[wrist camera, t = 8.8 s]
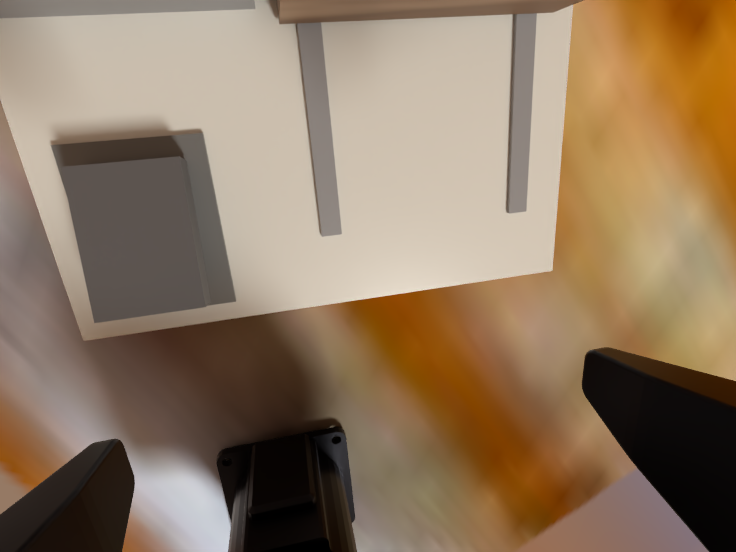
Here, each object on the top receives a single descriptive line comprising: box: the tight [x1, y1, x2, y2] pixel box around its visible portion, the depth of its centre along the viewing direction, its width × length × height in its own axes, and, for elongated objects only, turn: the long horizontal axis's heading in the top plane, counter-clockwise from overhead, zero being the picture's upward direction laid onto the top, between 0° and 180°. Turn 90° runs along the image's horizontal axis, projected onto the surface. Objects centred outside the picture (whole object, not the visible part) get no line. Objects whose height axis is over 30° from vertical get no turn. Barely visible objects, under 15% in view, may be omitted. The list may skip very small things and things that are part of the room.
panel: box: [0, 0, 573, 341], centre depth 15 cm, size 20×20×4 cm
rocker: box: [61, 156, 211, 323], centre depth 14 cm, size 5×4×1 cm
